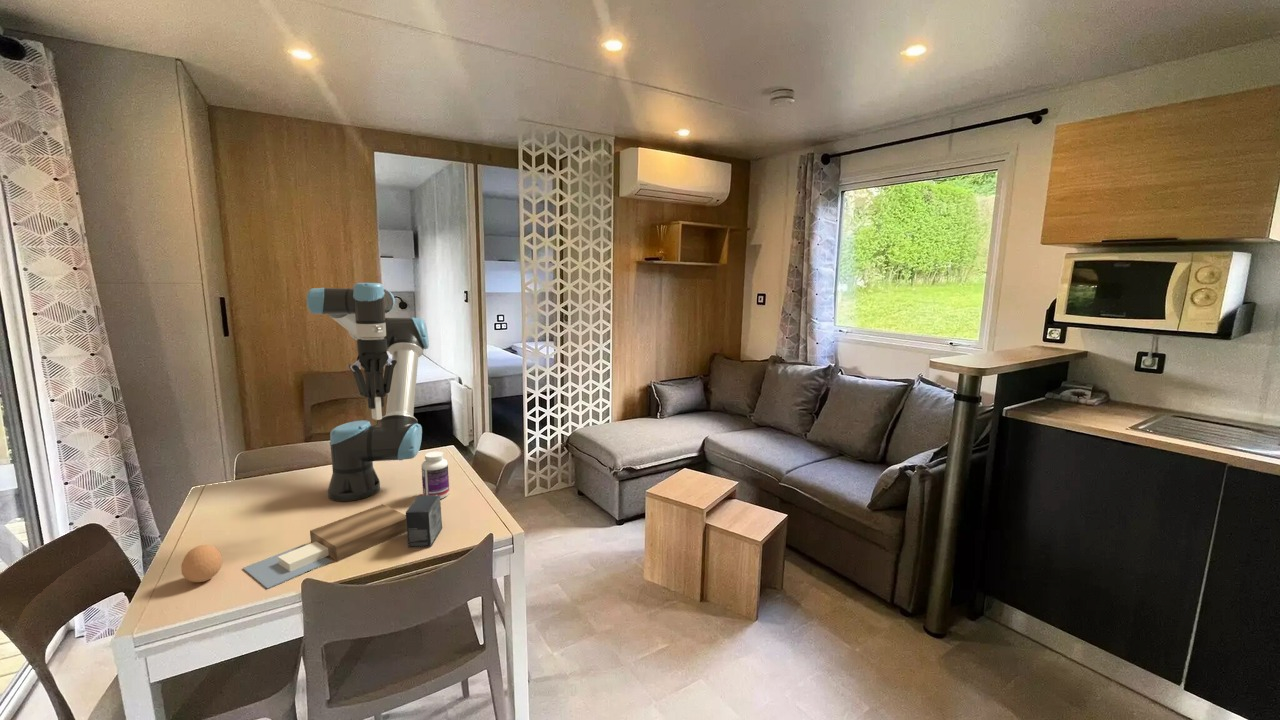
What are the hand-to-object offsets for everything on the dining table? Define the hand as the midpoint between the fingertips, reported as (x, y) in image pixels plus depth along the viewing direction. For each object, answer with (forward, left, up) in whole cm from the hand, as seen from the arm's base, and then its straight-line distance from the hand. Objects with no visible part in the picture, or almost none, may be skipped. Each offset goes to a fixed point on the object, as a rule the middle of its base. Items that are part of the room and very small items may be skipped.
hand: (377, 418), depth 149 cm
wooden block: (+7, -10, -30) cm, 33 cm away
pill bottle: (0, +18, -31) cm, 36 cm away
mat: (+6, -28, -30) cm, 42 cm away
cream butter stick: (+7, -25, -30) cm, 40 cm away
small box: (+21, 0, -31) cm, 37 cm away
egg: (-3, -42, -31) cm, 52 cm away
